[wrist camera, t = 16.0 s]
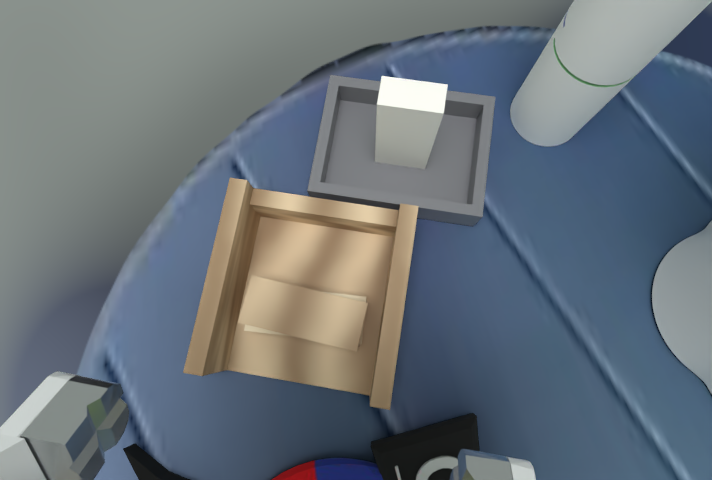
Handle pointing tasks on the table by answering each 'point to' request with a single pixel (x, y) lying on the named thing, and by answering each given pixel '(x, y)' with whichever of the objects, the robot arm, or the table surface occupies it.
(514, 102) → the cylindrical container
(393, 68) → the table surface
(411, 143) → the white upright pillar
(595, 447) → the table surface
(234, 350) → the tray
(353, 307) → the offcut top
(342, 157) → the charcoal tray
